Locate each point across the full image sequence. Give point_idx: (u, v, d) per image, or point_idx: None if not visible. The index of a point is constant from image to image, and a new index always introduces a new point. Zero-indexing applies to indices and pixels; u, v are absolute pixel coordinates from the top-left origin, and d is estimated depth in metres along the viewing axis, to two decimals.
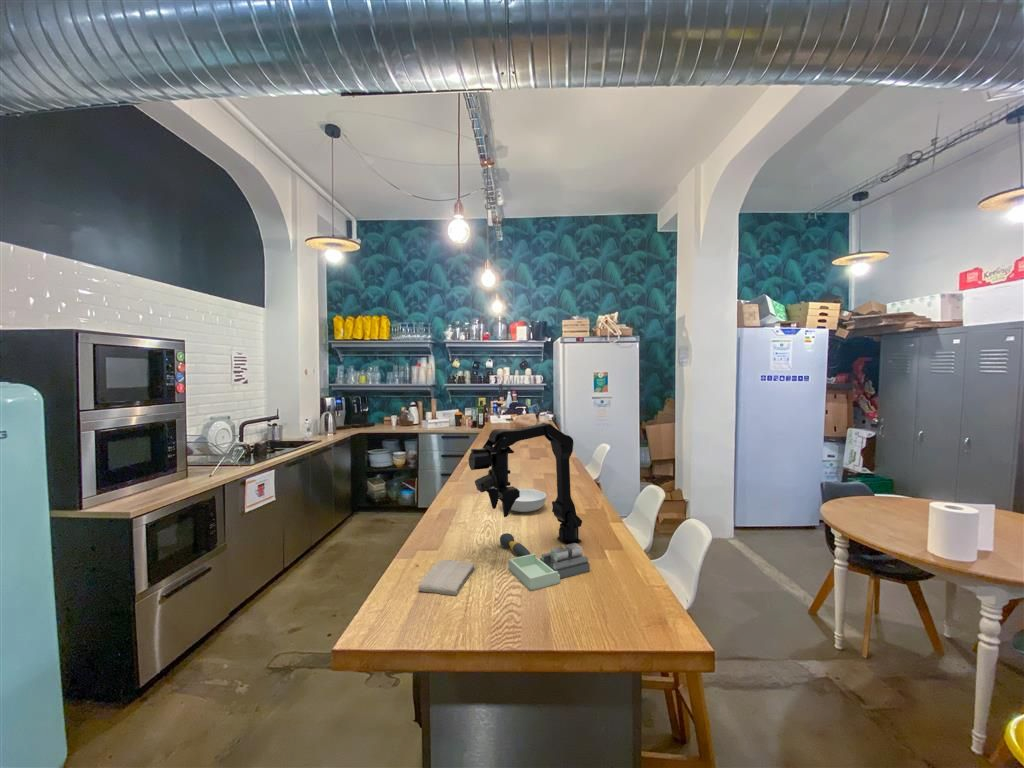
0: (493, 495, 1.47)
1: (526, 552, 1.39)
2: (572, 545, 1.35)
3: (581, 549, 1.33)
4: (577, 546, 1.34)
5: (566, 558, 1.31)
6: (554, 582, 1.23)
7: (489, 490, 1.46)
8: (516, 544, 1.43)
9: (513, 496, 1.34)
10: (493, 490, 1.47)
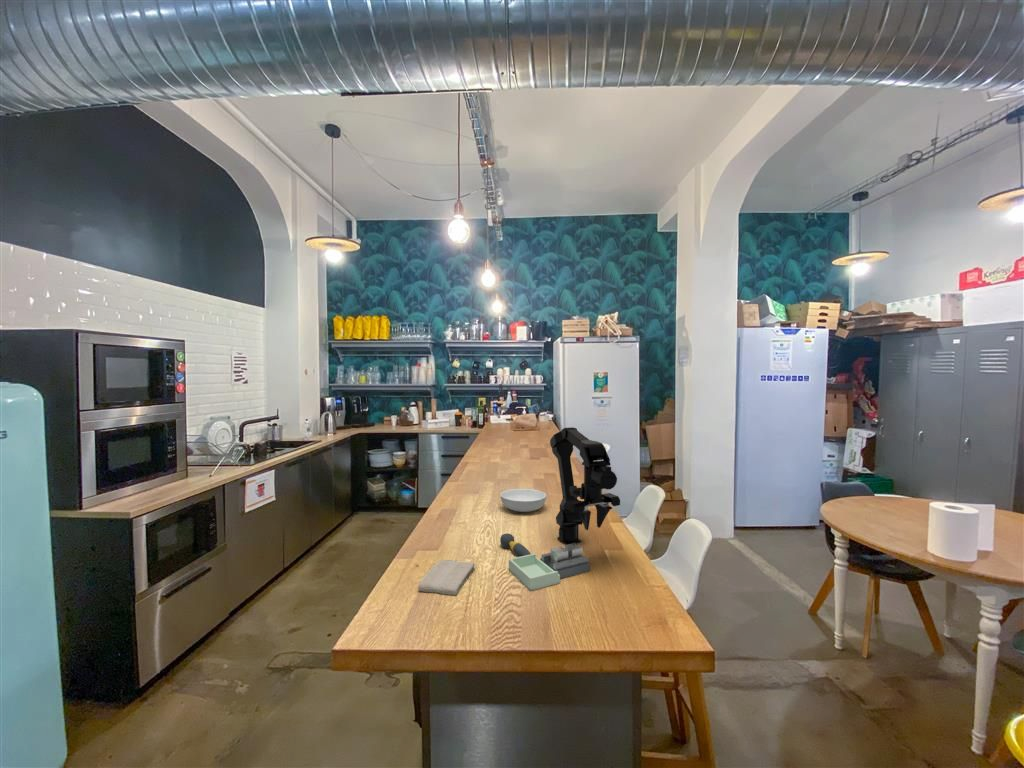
0: (599, 512, 1.39)
1: (526, 552, 1.39)
2: (572, 545, 1.35)
3: (581, 549, 1.33)
4: (577, 546, 1.34)
5: (566, 558, 1.31)
6: (554, 582, 1.23)
7: (596, 506, 1.40)
8: (516, 544, 1.43)
9: (570, 509, 1.33)
10: (599, 507, 1.39)
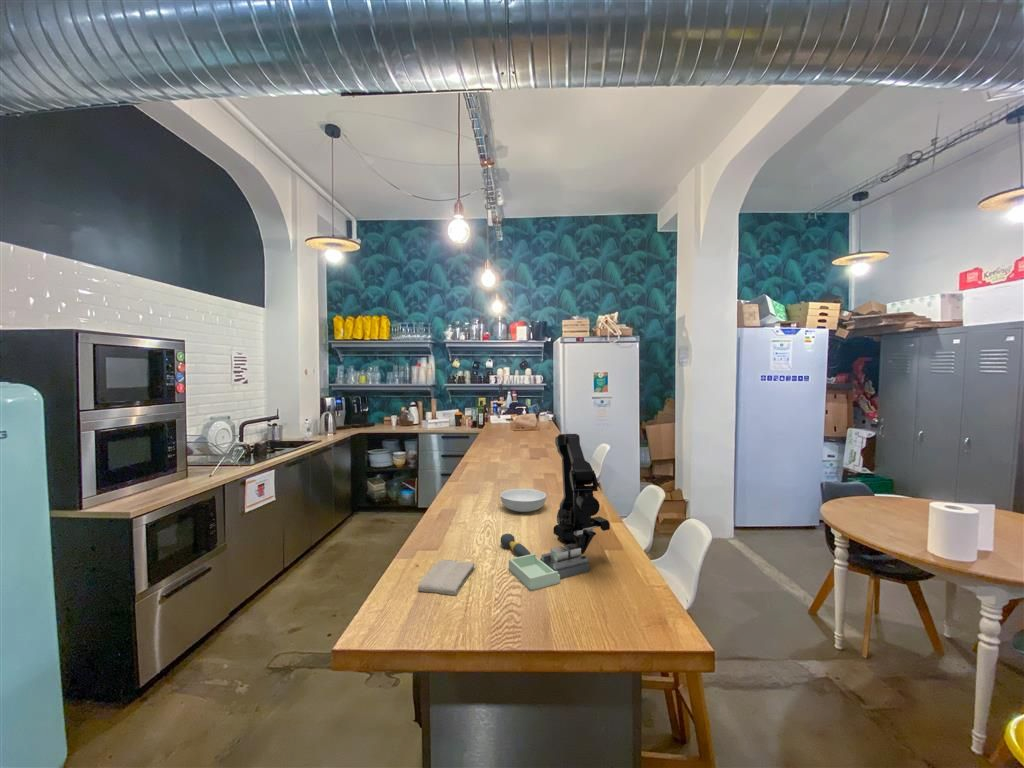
0: None
1: (526, 552, 1.39)
2: (570, 545, 1.35)
3: (579, 549, 1.33)
4: (575, 546, 1.34)
5: (566, 558, 1.31)
6: (554, 582, 1.23)
7: None
8: (516, 544, 1.43)
9: (558, 534, 1.31)
10: (583, 533, 1.36)
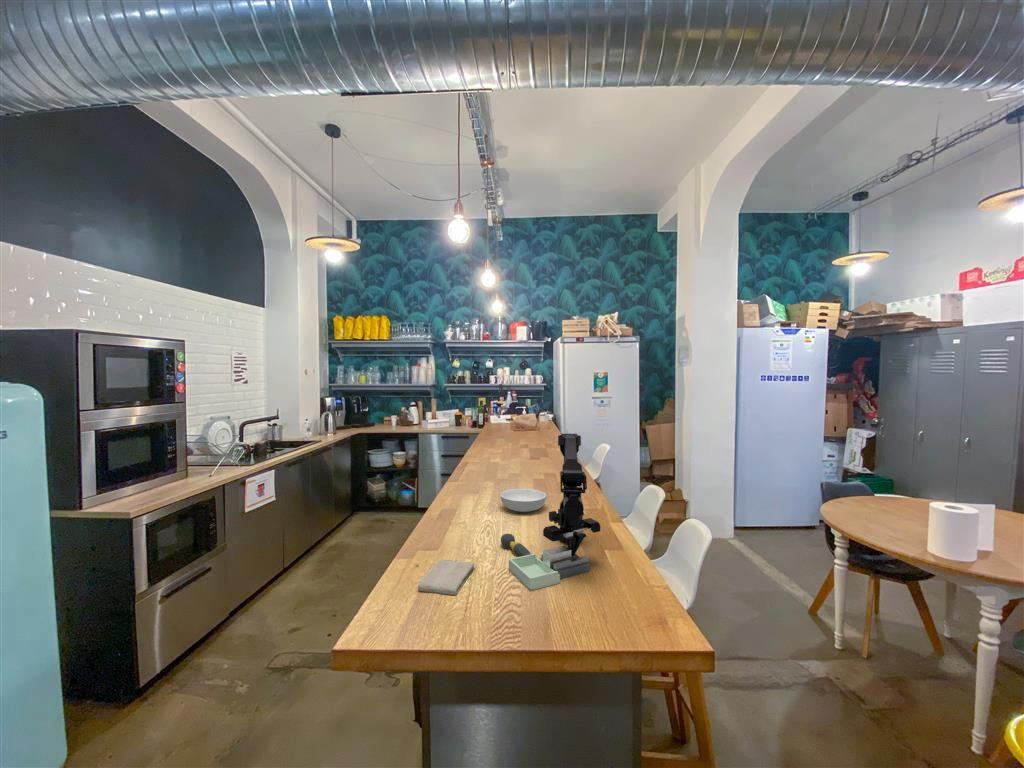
0: None
1: (526, 552, 1.39)
2: (560, 547, 1.33)
3: (570, 552, 1.31)
4: (566, 548, 1.32)
5: (559, 560, 1.29)
6: (554, 582, 1.23)
7: None
8: (516, 544, 1.43)
9: (548, 537, 1.29)
10: (573, 535, 1.34)
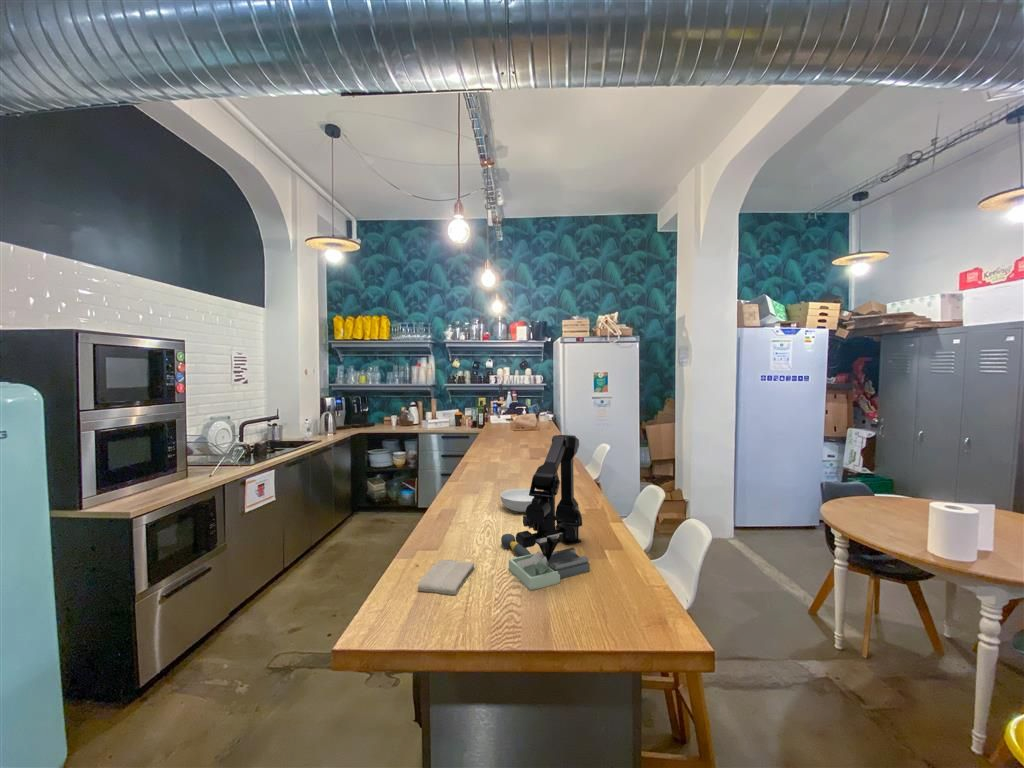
0: None
1: (526, 553, 1.39)
2: (535, 556, 1.29)
3: (544, 558, 1.28)
4: (540, 556, 1.28)
5: (530, 567, 1.25)
6: (554, 582, 1.23)
7: None
8: (517, 545, 1.43)
9: (520, 543, 1.25)
10: (547, 541, 1.30)
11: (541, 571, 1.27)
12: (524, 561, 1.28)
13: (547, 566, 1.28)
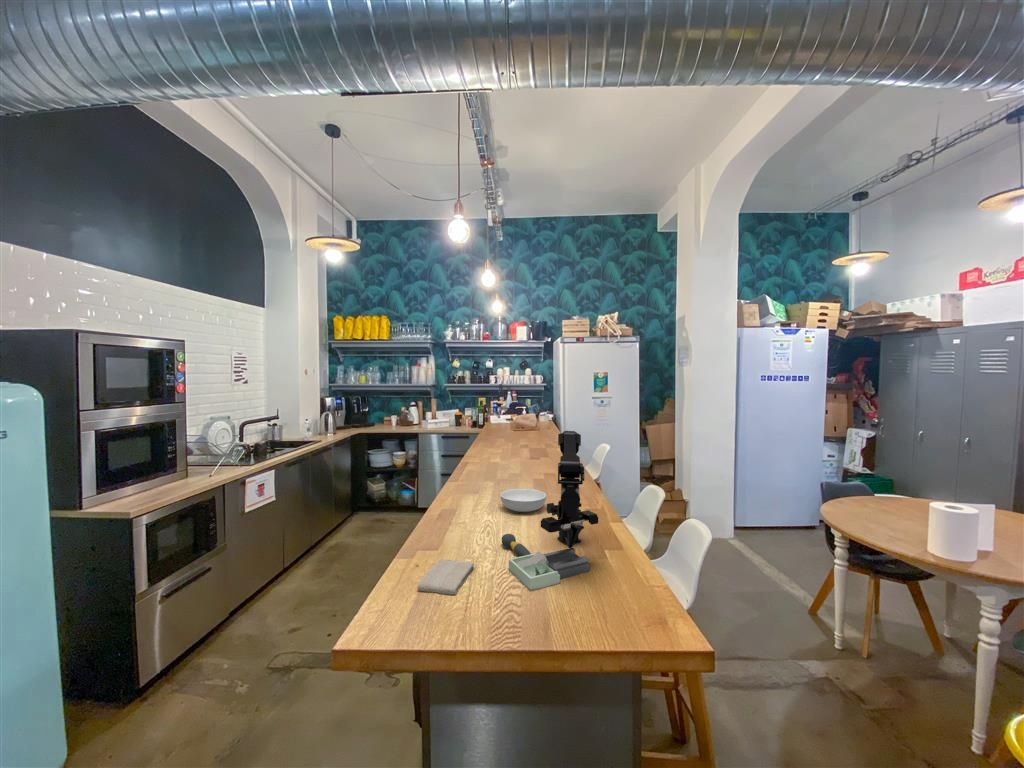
0: None
1: (527, 553, 1.38)
2: (535, 556, 1.29)
3: (544, 558, 1.28)
4: (540, 556, 1.29)
5: (530, 567, 1.25)
6: (554, 582, 1.23)
7: None
8: (517, 545, 1.43)
9: (545, 528, 1.29)
10: (571, 527, 1.34)
11: (541, 571, 1.27)
12: (524, 561, 1.28)
13: (547, 566, 1.28)
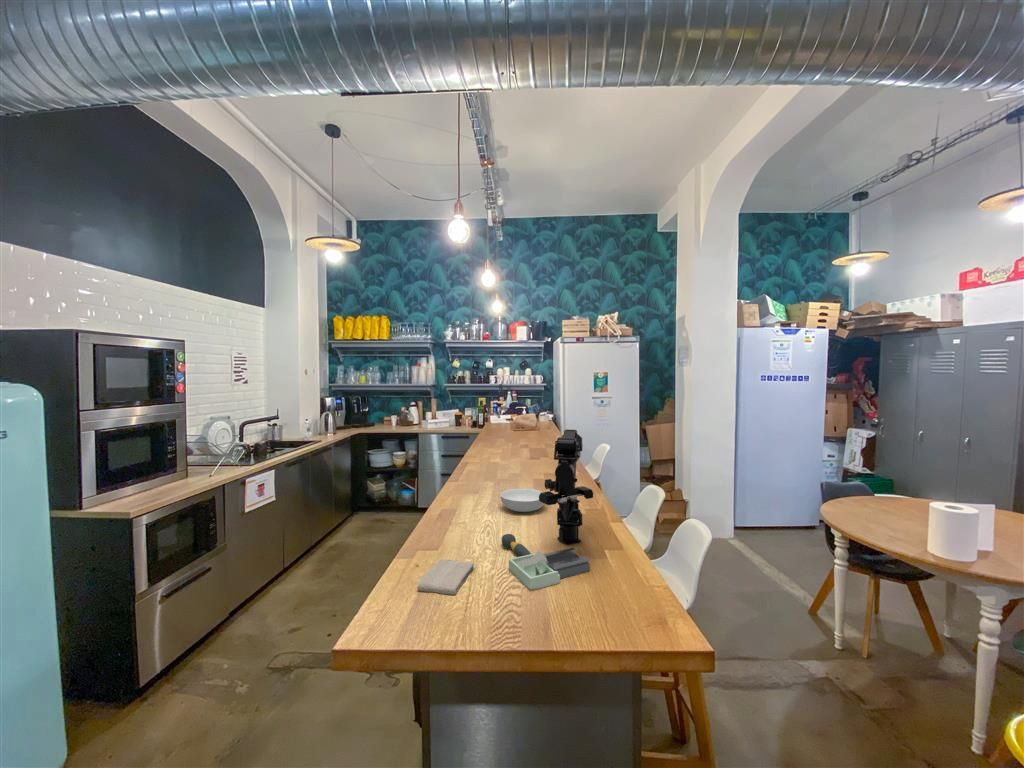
0: None
1: (527, 553, 1.38)
2: (535, 556, 1.29)
3: (544, 558, 1.28)
4: (540, 556, 1.29)
5: (530, 567, 1.25)
6: (554, 582, 1.23)
7: None
8: (517, 545, 1.43)
9: (543, 501, 1.38)
10: (567, 501, 1.43)
11: (541, 571, 1.27)
12: (524, 561, 1.28)
13: (547, 566, 1.28)
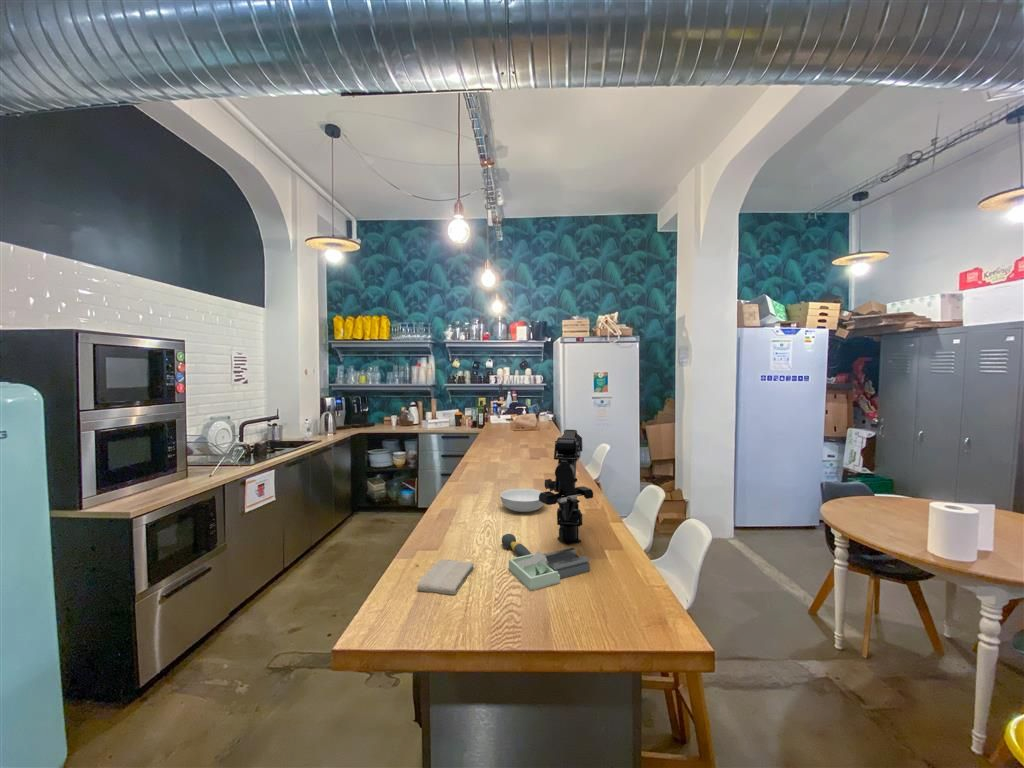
0: None
1: (527, 553, 1.38)
2: (535, 556, 1.29)
3: (544, 558, 1.28)
4: (540, 556, 1.29)
5: (530, 567, 1.25)
6: (554, 582, 1.23)
7: None
8: (517, 545, 1.43)
9: (543, 501, 1.38)
10: (567, 501, 1.43)
11: (541, 571, 1.27)
12: (524, 561, 1.28)
13: (547, 566, 1.28)
